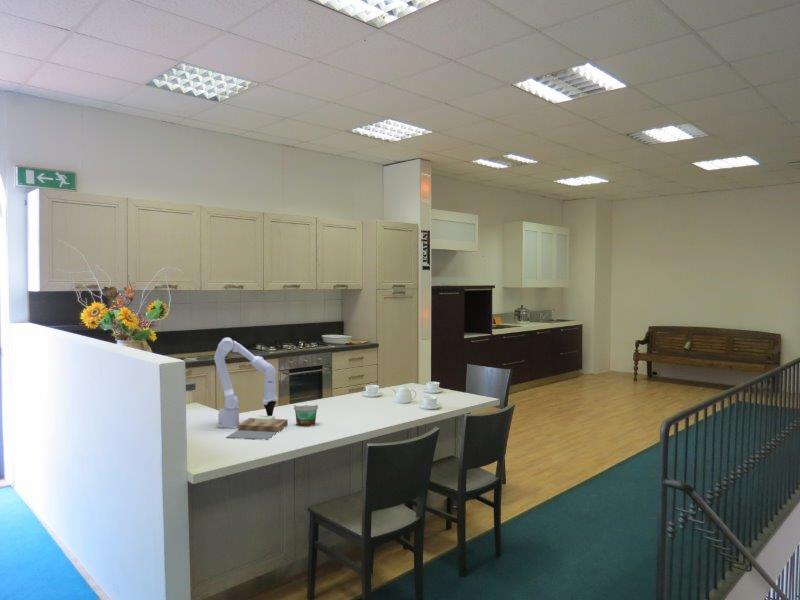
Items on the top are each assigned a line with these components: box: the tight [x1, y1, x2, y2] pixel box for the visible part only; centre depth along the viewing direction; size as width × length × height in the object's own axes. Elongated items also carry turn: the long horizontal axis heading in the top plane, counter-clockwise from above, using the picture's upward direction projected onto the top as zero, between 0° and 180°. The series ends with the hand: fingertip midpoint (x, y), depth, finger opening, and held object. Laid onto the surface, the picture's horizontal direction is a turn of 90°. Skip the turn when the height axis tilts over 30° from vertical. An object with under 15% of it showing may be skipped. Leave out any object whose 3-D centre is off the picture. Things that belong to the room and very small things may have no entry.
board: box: [237, 417, 288, 433], centre depth 275 cm, size 20×14×3 cm
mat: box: [226, 429, 278, 441], centre depth 262 cm, size 20×12×1 cm, turn 82°
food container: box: [293, 404, 319, 427], centre depth 281 cm, size 12×6×10 cm, turn 101°
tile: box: [254, 415, 276, 423], centre depth 277 cm, size 8×6×2 cm
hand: (269, 416), depth 284 cm, fingers closed
